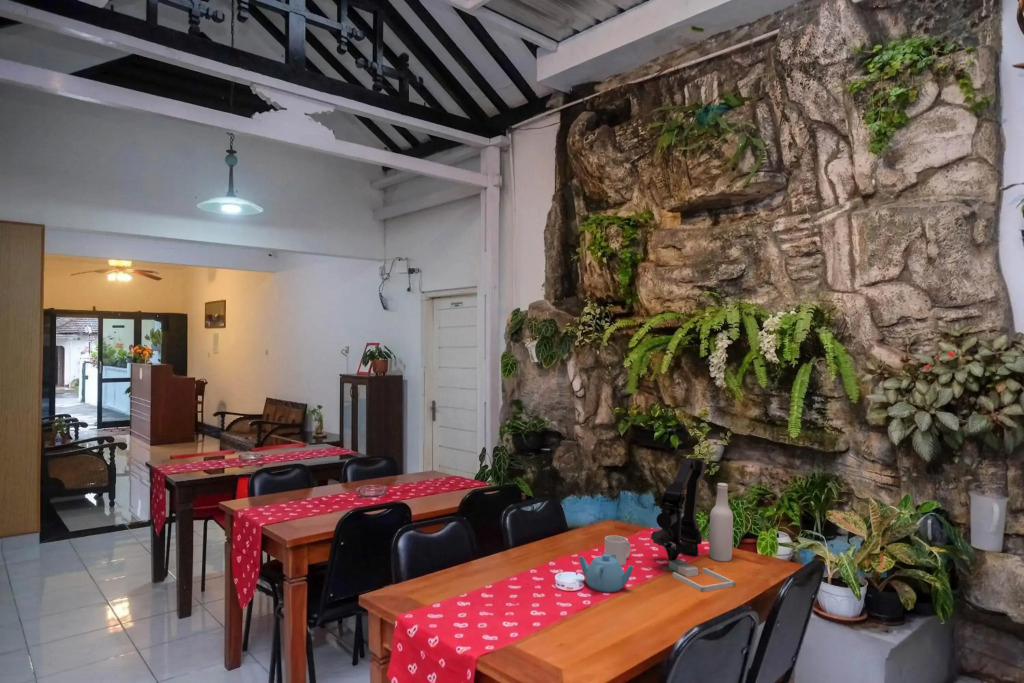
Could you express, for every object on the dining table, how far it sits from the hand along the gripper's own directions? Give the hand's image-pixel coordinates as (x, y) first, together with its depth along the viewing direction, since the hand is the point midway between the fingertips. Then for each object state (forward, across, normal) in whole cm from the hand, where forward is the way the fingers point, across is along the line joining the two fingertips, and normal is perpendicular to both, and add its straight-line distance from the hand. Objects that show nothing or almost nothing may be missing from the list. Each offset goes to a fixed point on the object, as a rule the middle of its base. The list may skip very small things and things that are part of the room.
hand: (671, 564), depth 235 cm
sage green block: (+1, +4, 0) cm, 4 cm away
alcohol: (+2, -4, +28) cm, 28 cm away
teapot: (+2, +5, -33) cm, 33 cm away
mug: (+2, -12, -16) cm, 20 cm away
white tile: (+1, +9, 0) cm, 9 cm away
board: (+2, +5, 0) cm, 5 cm away
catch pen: (+2, +17, 0) cm, 17 cm away
